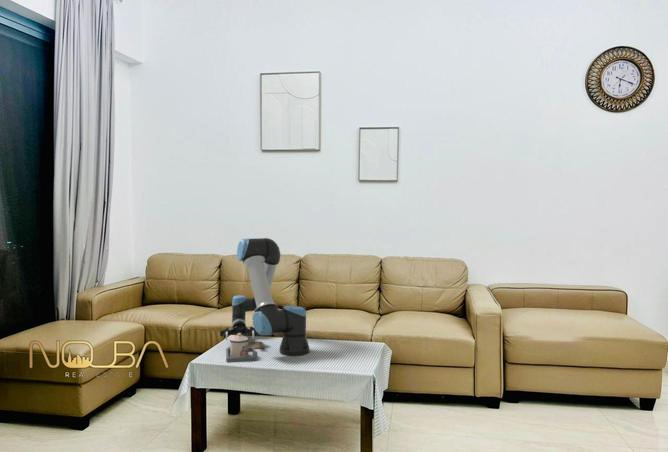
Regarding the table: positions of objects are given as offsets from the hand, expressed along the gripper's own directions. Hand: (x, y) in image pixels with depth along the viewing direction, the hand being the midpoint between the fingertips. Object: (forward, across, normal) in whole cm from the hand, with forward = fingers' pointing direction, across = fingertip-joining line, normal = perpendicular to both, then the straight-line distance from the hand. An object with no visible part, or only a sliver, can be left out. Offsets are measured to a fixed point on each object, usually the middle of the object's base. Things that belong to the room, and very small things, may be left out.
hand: (240, 336), depth 256 cm
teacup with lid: (+10, 0, -8) cm, 12 cm away
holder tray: (+10, 0, -7) cm, 12 cm away
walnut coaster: (-8, -6, -7) cm, 13 cm away
